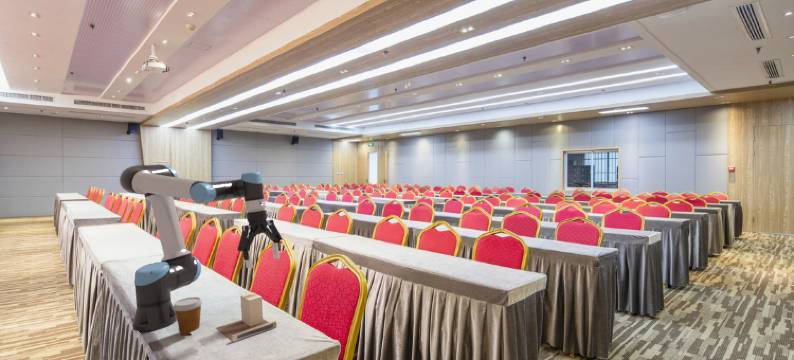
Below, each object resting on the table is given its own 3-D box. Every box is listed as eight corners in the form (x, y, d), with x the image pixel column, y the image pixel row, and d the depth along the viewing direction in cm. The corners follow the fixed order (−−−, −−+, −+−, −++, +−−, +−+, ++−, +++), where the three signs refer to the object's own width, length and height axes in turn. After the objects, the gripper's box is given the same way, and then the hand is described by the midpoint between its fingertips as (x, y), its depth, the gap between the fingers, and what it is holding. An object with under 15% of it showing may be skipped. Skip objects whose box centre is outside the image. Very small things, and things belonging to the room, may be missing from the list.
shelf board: (215, 331, 146) (215, 322, 146) (257, 318, 157) (256, 310, 157) (233, 346, 134) (232, 336, 133) (276, 331, 145) (276, 321, 145)
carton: (241, 320, 152) (240, 295, 151) (254, 316, 155) (253, 292, 155) (250, 326, 146) (248, 300, 146) (263, 322, 150) (261, 296, 149)
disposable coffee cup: (197, 324, 153) (195, 295, 152) (208, 331, 147) (206, 299, 146) (171, 333, 146) (168, 302, 145) (181, 340, 140) (179, 307, 139)
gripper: (235, 215, 143) (243, 272, 143) (286, 205, 164) (293, 255, 165) (222, 216, 147) (230, 271, 147) (273, 206, 168) (280, 255, 169)
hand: (263, 263), depth 156 cm, fingers open, 13 cm apart
